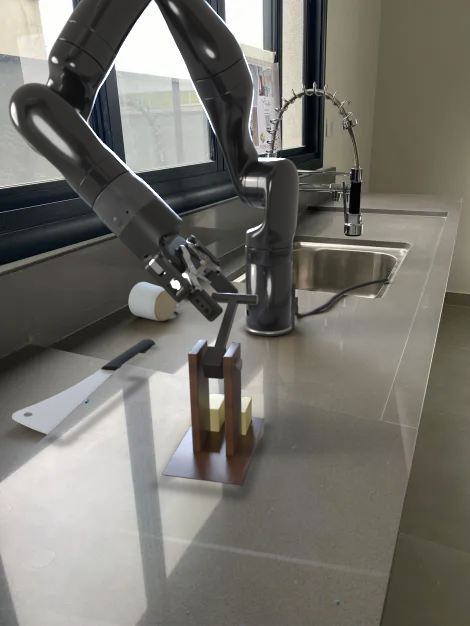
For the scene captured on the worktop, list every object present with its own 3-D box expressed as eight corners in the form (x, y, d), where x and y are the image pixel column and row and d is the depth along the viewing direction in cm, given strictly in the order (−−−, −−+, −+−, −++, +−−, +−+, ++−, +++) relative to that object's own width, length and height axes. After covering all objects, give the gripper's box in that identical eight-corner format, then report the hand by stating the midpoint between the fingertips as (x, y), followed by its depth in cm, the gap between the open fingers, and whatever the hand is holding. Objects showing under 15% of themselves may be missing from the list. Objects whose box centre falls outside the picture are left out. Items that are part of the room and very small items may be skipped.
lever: (214, 300, 66) (212, 287, 65) (258, 303, 65) (257, 289, 63) (188, 376, 57) (185, 362, 55) (239, 381, 56) (237, 367, 54)
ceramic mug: (157, 326, 103) (155, 290, 101) (128, 319, 108) (126, 285, 105) (188, 313, 112) (187, 280, 110) (161, 307, 116) (159, 275, 114)
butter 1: (209, 414, 67) (208, 393, 66) (226, 416, 66) (226, 394, 65) (200, 430, 63) (199, 407, 62) (219, 432, 62) (218, 409, 61)
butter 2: (234, 417, 66) (233, 395, 65) (251, 418, 65) (251, 397, 64) (226, 433, 62) (226, 410, 61) (245, 435, 62) (245, 412, 61)
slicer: (199, 419, 68) (195, 324, 63) (264, 426, 66) (264, 329, 61) (162, 484, 55) (154, 370, 50) (242, 495, 53) (240, 378, 48)
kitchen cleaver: (65, 435, 63) (5, 413, 66) (66, 447, 63) (6, 424, 67) (184, 348, 90) (137, 335, 93) (183, 356, 90) (137, 343, 94)
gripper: (132, 201, 56) (233, 304, 57) (175, 191, 69) (256, 274, 70) (94, 247, 59) (191, 344, 60) (142, 228, 72) (221, 308, 73)
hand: (226, 306), depth 65 cm, fingers open, 8 cm apart
